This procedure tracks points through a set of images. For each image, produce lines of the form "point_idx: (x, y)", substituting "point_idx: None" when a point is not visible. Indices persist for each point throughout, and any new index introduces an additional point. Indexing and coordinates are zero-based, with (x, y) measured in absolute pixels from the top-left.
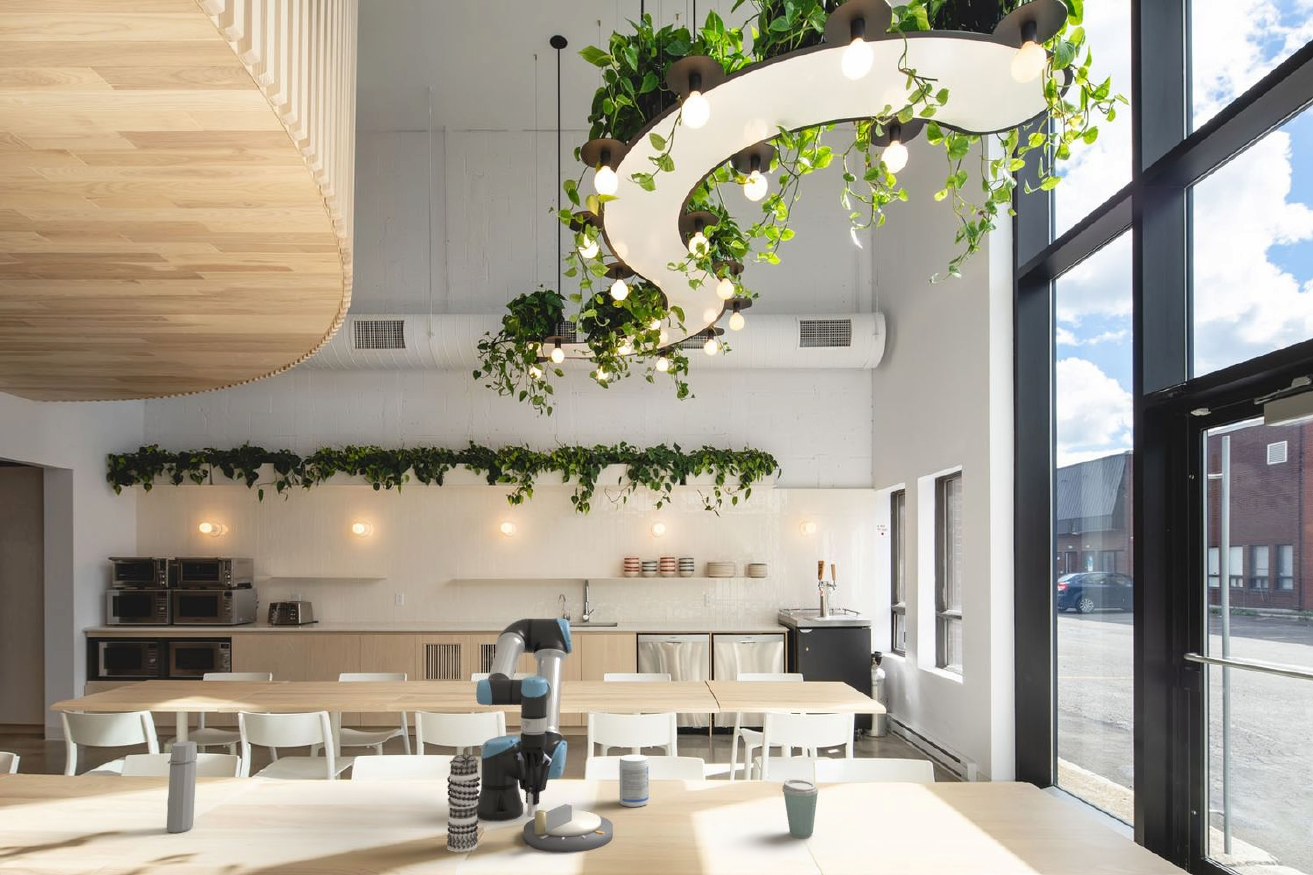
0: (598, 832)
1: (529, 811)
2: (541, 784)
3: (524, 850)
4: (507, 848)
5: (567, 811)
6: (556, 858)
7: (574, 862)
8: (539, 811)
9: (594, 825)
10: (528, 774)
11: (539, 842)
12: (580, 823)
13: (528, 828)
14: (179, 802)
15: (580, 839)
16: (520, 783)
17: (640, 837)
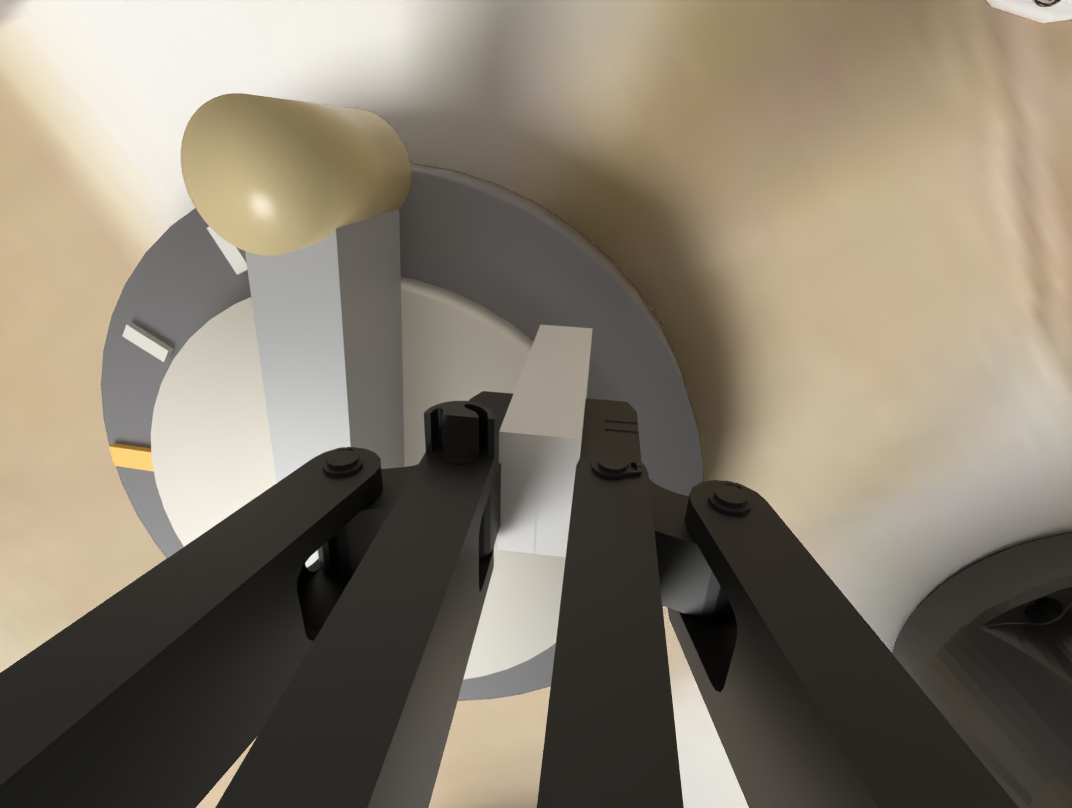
0: (142, 449)
1: (562, 343)
2: (233, 522)
3: (502, 90)
4: (654, 59)
5: None
6: (195, 57)
7: (47, 49)
8: (275, 186)
9: (162, 486)
10: (552, 713)
11: None
12: (262, 488)
13: (617, 345)
14: None
15: (138, 297)
16: (775, 545)
17: (116, 573)
